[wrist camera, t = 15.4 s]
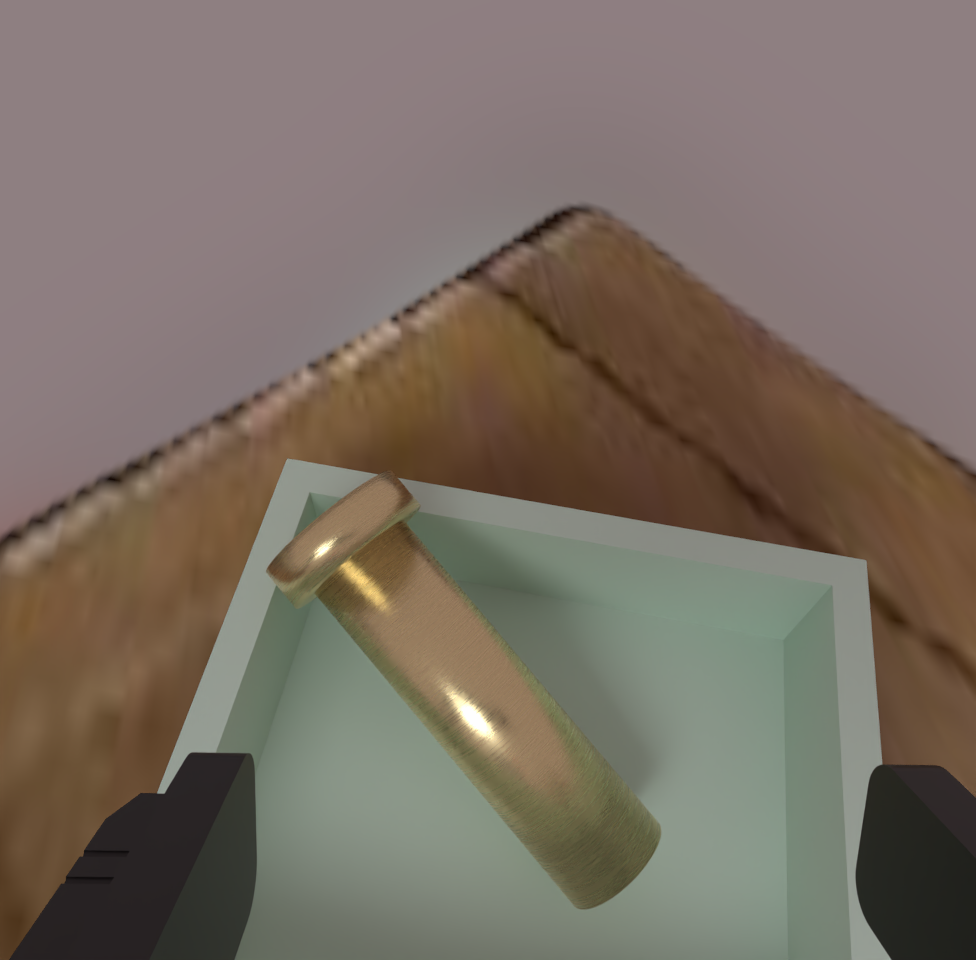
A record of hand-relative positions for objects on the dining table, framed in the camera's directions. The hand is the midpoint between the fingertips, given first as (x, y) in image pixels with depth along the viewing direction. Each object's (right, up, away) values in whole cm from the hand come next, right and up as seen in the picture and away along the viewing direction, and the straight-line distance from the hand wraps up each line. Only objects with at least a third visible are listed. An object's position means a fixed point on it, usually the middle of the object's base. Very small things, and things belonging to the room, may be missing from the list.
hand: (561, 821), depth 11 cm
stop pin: (+2, -5, +11) cm, 12 cm away
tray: (0, -5, +13) cm, 14 cm away
